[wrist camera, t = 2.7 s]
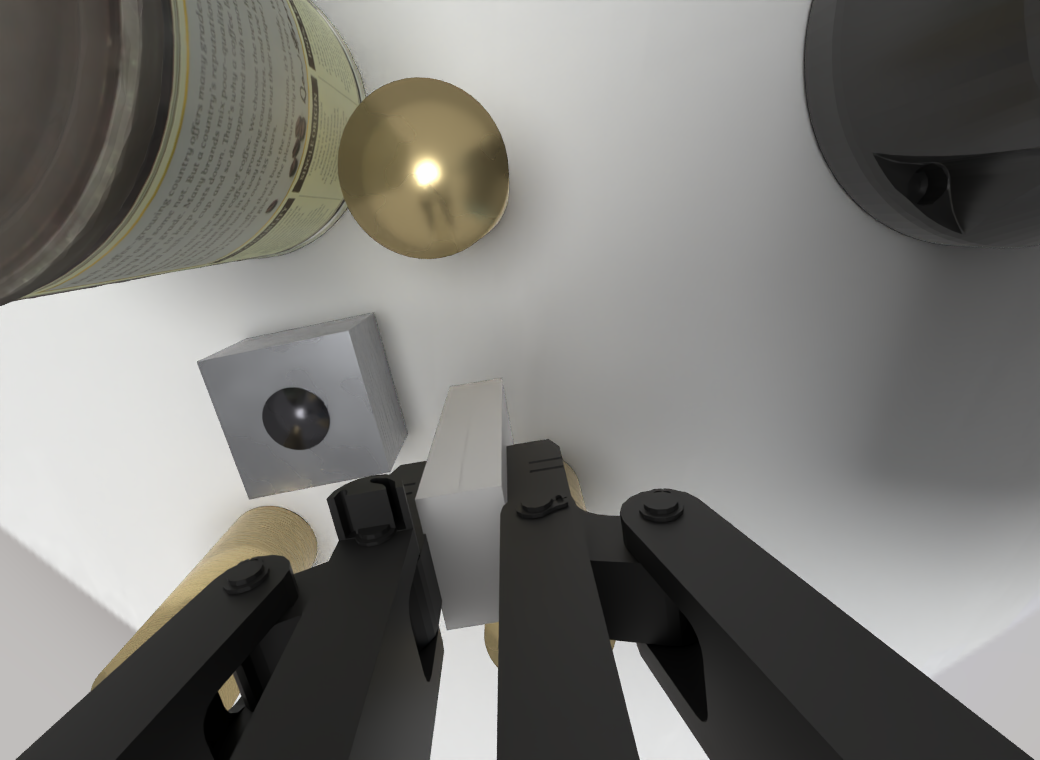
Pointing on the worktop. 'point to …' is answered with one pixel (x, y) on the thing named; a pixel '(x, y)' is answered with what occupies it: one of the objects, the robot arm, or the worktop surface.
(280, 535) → the brass spacer
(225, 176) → the coffee can
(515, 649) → the robot arm
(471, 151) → the brass spacer
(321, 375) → the grey square block
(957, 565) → the worktop surface
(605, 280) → the worktop surface
